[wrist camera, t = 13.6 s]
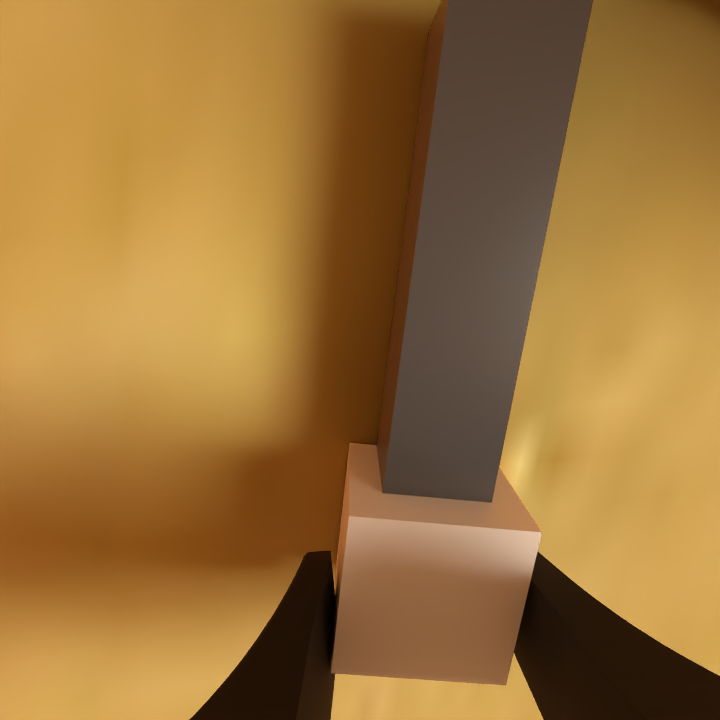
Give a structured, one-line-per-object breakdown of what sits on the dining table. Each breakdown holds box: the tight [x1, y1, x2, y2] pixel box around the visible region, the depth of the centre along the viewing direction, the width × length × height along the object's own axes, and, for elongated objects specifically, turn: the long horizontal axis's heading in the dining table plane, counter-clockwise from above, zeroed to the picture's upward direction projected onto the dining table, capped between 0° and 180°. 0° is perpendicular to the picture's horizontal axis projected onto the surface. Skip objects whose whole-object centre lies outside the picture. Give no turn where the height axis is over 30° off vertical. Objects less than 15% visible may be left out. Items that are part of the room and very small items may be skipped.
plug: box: [331, 0, 593, 685], centre depth 10 cm, size 4×14×4 cm, turn 174°
